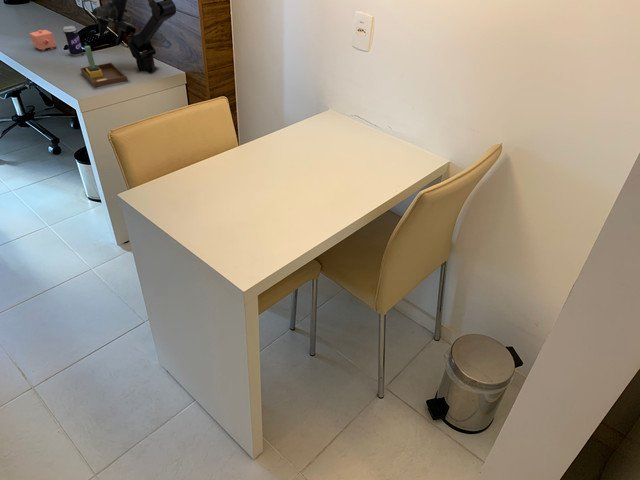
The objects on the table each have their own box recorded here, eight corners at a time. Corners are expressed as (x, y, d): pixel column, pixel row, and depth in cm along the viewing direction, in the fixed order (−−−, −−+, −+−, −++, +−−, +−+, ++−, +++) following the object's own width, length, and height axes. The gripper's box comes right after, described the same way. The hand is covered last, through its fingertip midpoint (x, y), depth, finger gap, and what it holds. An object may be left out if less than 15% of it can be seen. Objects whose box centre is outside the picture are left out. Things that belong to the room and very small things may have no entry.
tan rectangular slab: (106, 81, 202) (105, 78, 201) (108, 82, 200) (108, 80, 199) (96, 83, 200) (96, 80, 199) (99, 85, 198) (98, 82, 197)
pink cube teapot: (43, 53, 228) (37, 35, 222) (32, 47, 234) (26, 29, 229) (60, 49, 232) (54, 31, 227) (49, 43, 238) (43, 26, 233)
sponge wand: (99, 72, 209) (91, 43, 202) (102, 76, 206) (95, 47, 198) (87, 74, 207) (79, 45, 199) (90, 78, 204) (82, 49, 196)
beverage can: (74, 57, 225) (66, 30, 217) (67, 54, 227) (59, 27, 220) (85, 54, 228) (78, 27, 221) (79, 51, 231) (71, 24, 223)
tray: (81, 74, 208) (80, 68, 207) (112, 68, 215) (111, 62, 213) (95, 88, 197) (93, 82, 195) (127, 82, 203) (126, 76, 201)
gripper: (86, -11, 194) (77, 28, 199) (121, 7, 190) (111, 46, 195) (107, -3, 204) (98, 33, 210) (141, 14, 200) (130, 51, 205)
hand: (108, 41), depth 205 cm, fingers open, 9 cm apart
